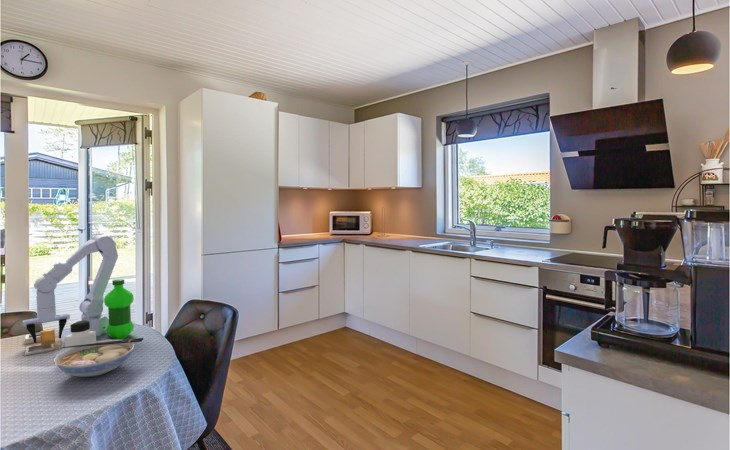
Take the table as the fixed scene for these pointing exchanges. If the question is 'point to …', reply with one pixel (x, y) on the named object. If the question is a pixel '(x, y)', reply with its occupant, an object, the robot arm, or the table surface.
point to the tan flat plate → (56, 346)
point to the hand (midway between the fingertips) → (47, 339)
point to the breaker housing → (31, 339)
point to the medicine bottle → (80, 334)
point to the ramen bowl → (95, 357)
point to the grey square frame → (39, 350)
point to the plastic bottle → (119, 310)
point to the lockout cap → (47, 336)
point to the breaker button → (36, 334)
